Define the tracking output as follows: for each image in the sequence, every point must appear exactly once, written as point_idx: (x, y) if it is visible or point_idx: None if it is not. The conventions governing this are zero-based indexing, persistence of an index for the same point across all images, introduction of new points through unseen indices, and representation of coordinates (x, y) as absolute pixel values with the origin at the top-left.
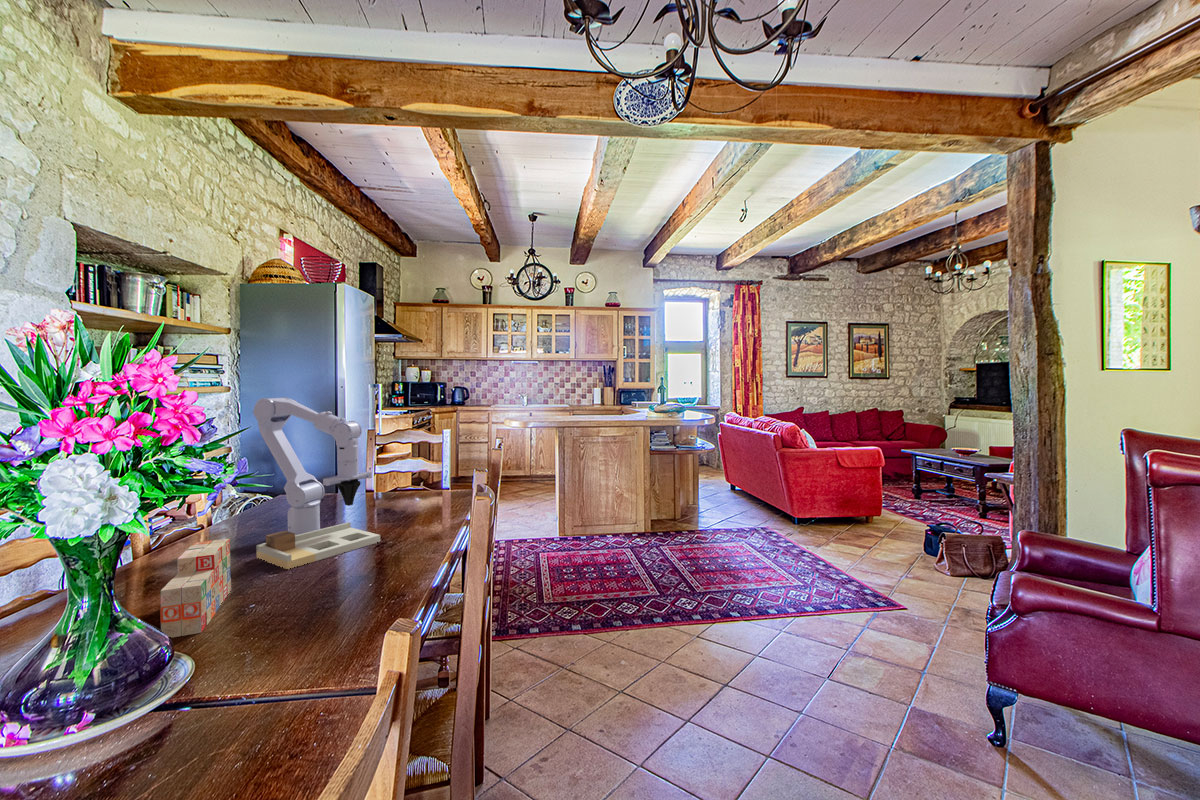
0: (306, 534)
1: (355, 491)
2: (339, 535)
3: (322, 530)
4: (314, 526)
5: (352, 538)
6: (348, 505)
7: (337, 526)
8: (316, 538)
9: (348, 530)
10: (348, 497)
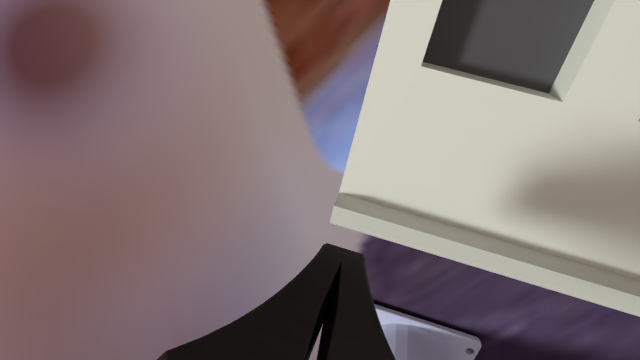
0: (617, 287)
1: (272, 313)
2: (508, 135)
3: (515, 256)
4: (411, 351)
5: (458, 71)
6: (363, 258)
7: (418, 229)
8: (593, 223)
9: (396, 160)
10: (371, 305)
